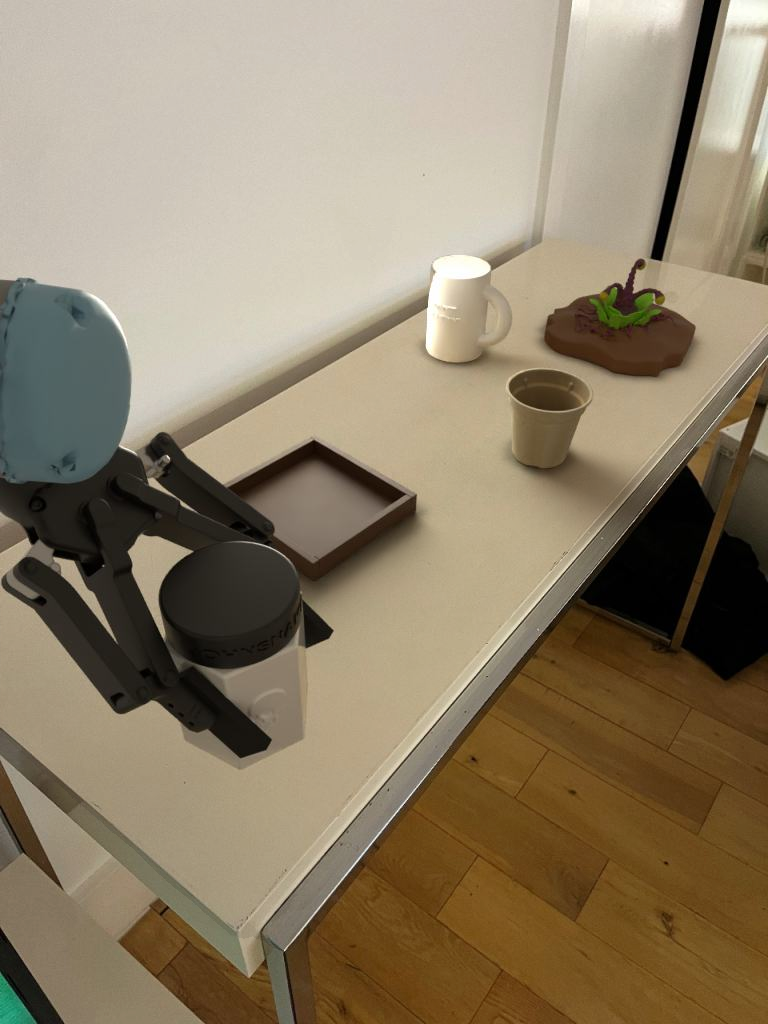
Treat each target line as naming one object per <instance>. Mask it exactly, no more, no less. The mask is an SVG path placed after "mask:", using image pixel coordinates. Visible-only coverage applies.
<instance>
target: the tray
mask: <svg viewBox="0 0 768 1024" xmlns="http://www.w3.org/2000/svg"><path fill="white" fill-rule="evenodd" d="M222 484H223V485H224V486H225V487H227V488H228V489H229V490H231V491H232V492H233V493H235V494H236V495H237V496H238V497H240V498H241V499H242V500H244V501H245V502H246V503H248V504H249V505H250V506H252V507H253V508H254V509H256V510H257V511H258V512H259V513H261V514H262V515H263V516H265V517H266V518H267V519H269V520H270V521H271V522H272V523H273V525H274V527H275V532H274V534H273V535H272V536H270V538H269V539H271V540H272V541H273V542H274V543H275V545H276V550H277V551H278V552H280V553H282V554H283V555H284V556H286V557H287V558H288V559H289V560H290V561H291V563H292V564H293V565H294V567H295V568H296V570H297V571H299V572H300V573H302V574H303V575H305V576H306V577H308V578H309V579H310V580H312V581H313V582H315V581H317V580H318V579H320V578H321V577H323V576H324V575H326V574H327V573H328V572H330V571H331V570H333V569H335V568H336V567H337V566H339V565H340V564H342V563H343V562H344V561H346V560H347V559H349V558H350V557H352V556H354V555H355V554H356V553H358V552H359V551H360V550H362V549H363V548H365V547H366V546H368V545H369V544H370V543H372V542H373V541H375V540H377V539H378V538H379V537H381V536H382V535H383V534H385V533H387V532H388V531H389V530H391V529H392V528H394V527H395V526H397V525H398V524H399V523H401V522H402V521H404V520H405V519H406V518H408V517H410V516H411V515H413V514H414V513H415V512H416V511H417V501H418V500H417V499H418V494H417V493H416V492H414V491H412V490H411V489H409V488H408V487H405V486H404V485H402V484H401V483H399V482H397V481H395V480H394V479H392V478H390V477H388V476H387V475H385V474H383V473H382V472H380V471H378V470H376V468H373V467H371V466H370V465H368V464H366V463H364V462H363V461H361V460H359V459H358V458H356V457H355V456H353V455H351V454H349V453H347V452H346V451H344V450H342V449H340V448H339V447H337V446H335V445H334V444H332V443H330V442H328V441H327V440H325V439H323V438H321V437H320V436H318V435H316V434H313V435H311V436H309V437H307V438H306V439H304V440H302V441H300V442H298V443H296V444H294V445H293V446H290V447H289V448H287V449H285V450H283V451H282V452H280V453H277V454H275V455H274V456H272V457H270V458H269V459H267V460H265V461H263V462H262V463H261V462H260V463H259V464H258V465H256V466H254V467H252V468H250V469H248V470H247V471H245V472H243V473H241V474H239V475H237V476H236V477H234V478H232V479H230V480H229V481H227V482H225V483H222Z"/></svg>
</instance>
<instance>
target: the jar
mask: <svg viewBox="0 0 768 1024" xmlns="http://www.w3.org/2000/svg"><path fill="white" fill-rule="evenodd" d="M302 599H303V592H302V590H301V580H300V576H299V572H298V569H297V568H295V567H294V565H293V564H292V563H291V561H290V560H289V559H288V558H287V557H286V556H284V555H283V554H282V553H280V552H278V551H277V550H275V549H273V548H271V547H268V546H265V545H262V544H258V543H253V542H244V541H232V542H223V543H217V544H213V545H209V546H206V547H203V548H201V549H198V550H196V551H194V552H193V551H191V553H189V554H186V555H185V556H183V558H181V559H180V560H178V561H177V562H176V563H175V564H174V565H173V566H172V567H171V568H170V569H169V570H168V572H167V573H166V574H165V575H164V577H163V579H162V581H161V583H160V587H159V590H158V598H157V600H158V607H159V612H160V616H161V620H162V625H163V629H164V637H163V640H164V642H165V644H166V646H167V648H168V650H169V653H170V655H171V657H172V659H173V661H174V663H175V665H176V667H177V669H178V672H181V671H183V670H186V669H188V668H190V667H192V666H193V667H194V668H195V669H196V670H197V671H199V672H200V673H201V674H202V675H203V676H204V677H205V678H206V679H207V680H208V681H209V682H210V683H212V684H213V685H214V686H215V687H216V688H217V689H218V690H219V691H220V692H221V693H222V694H223V695H224V696H225V697H226V698H228V699H229V700H230V701H231V702H232V703H233V704H234V705H235V706H236V707H238V708H239V709H240V710H241V711H242V712H243V713H244V714H245V715H246V716H247V717H248V718H249V719H251V720H252V721H253V722H254V723H255V724H256V725H257V726H258V727H259V728H260V729H261V730H262V731H264V732H265V733H266V734H267V735H268V736H269V737H270V738H271V739H272V741H271V743H270V745H269V746H268V748H267V750H265V751H262V752H259V753H256V754H253V755H250V756H247V757H244V758H241V759H240V758H239V757H238V756H237V755H236V754H235V753H233V752H232V751H231V750H230V749H229V748H228V747H227V746H226V745H225V744H223V743H222V742H221V741H220V740H219V739H218V738H217V737H216V736H215V735H213V734H212V733H211V732H210V731H209V730H208V729H207V730H204V731H202V732H199V733H196V732H193V731H190V730H188V729H187V728H186V727H185V726H184V725H183V724H182V723H181V722H179V723H180V727H181V731H182V736H183V739H184V741H185V742H186V743H188V744H190V745H192V746H194V747H196V748H198V749H199V750H201V751H203V752H205V753H207V754H210V755H211V756H213V757H215V758H216V759H217V760H220V761H222V762H224V763H226V764H228V765H230V766H231V767H233V768H235V769H237V770H240V771H241V770H245V769H246V768H249V767H251V766H252V765H254V764H257V763H259V762H260V761H262V760H265V759H267V758H269V757H270V756H273V755H274V754H277V753H279V752H281V751H283V750H285V749H287V748H288V747H291V746H293V745H295V744H297V743H299V742H301V741H303V740H304V739H305V737H306V723H307V708H308V707H307V706H308V692H309V678H308V677H309V676H308V664H307V663H308V662H307V650H306V647H305V632H304V617H303V601H302Z"/></svg>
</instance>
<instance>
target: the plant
mask: <svg viewBox="0 0 768 1024" xmlns="http://www.w3.org/2000/svg"><path fill="white" fill-rule="evenodd" d="M646 266H647V262H646V260H645V259H644V258H637V260H636V261H635V262H634V263H633V266H632V267H631V268H630V270H631V271H630V272H629V273H628V277H627V279H626V280H627V281H625V286H623V285H622V284H621V283H620V282H613V284H609V285H607V286H606V288H604V289H603V290H601V292H599V293H593V294H588V295H584V296H580V297H578V298H576V299H574V300H573V301H572V302H571V303H569V304H568V305H567V306H564V307H558V308H555V309H554V310H553V313H550V314H549V315H548V316H547V317H546V318H547V319H546V324H545V331H544V337H543V340H544V342H545V343H546V345H547V346H548V347H549V348H550V349H551V350H552V351H554V352H556V353H558V354H561V355H564V356H568V357H572V358H577V359H581V360H583V361H587V362H589V363H593V364H595V365H597V366H600V367H603V368H605V369H607V370H608V371H611V372H613V373H615V374H626V375H631V376H653V377H658V376H659V375H660V373H661V371H663V370H665V369H668V368H674V367H676V368H677V367H679V366H680V365H681V364H682V363H683V361H684V358H685V357H686V356H687V355H686V354H687V353H688V351H689V348H690V346H691V344H692V342H693V340H694V337H695V333H696V328H697V327H696V325H695V324H694V323H692V322H691V321H689V320H688V319H687V318H686V317H684V316H683V315H681V314H680V313H679V312H677V311H675V310H672V309H670V308H668V307H665V306H663V304H665V301H666V296H665V294H664V293H663V292H662V291H661V290H658V289H657V288H651V287H648V288H642V289H641V290H639V291H637V292H634V290H635V288H634V284H635V279H636V274H637V271H642V270H645V268H646ZM633 292H634V293H633Z"/></svg>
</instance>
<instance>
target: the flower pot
mask: <svg viewBox="0 0 768 1024" xmlns="http://www.w3.org/2000/svg"><path fill="white" fill-rule="evenodd" d="M505 383H506V384H505V392H506V394H507V396H508V402H509V405H510V411H511V412H510V413H511V452H512V455H513V456H514V458H515V459H516V460H517V461H519V462H520V463H522V464H523V465H524V466H534V467H537V468H539V469H550V468H555V467H558V466H561V464H562V463H564V462H565V461H566V459H567V456H568V453H569V450H570V448H571V444H572V441H573V440H574V439H573V438H574V436H575V433H576V431H577V429H578V428H577V427H578V425H579V423H580V420H581V417H582V416H583V415H584V413H585V412H586V410H587V408H588V407H589V405H591V404H592V402H593V399H594V390H593V388H592V386H591V385H590V383H588V382H587V380H585V379H583V378H581V376H578V375H577V374H574V373H571V372H569V371H566V370H562V369H557V368H551V367H550V368H549V367H534V368H526V369H523V370H521V371H517V372H516V373H514V374H513V375H511V376H510V377H509V378H508V380H506V382H505Z"/></svg>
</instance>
